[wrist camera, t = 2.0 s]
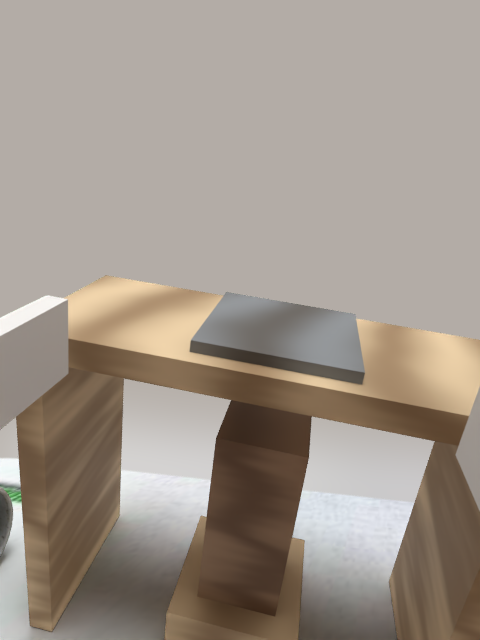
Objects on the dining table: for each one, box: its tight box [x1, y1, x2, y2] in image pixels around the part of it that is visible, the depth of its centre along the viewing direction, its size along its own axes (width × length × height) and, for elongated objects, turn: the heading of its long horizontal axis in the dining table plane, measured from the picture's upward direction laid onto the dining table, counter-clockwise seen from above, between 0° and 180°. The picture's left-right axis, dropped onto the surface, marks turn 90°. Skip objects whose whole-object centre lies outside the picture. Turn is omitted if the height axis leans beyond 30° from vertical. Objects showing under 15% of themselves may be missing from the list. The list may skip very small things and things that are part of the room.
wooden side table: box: [16, 276, 480, 640], centre depth 28 cm, size 25×10×21 cm, turn 80°
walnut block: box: [197, 400, 312, 617], centre depth 29 cm, size 5×5×12 cm
